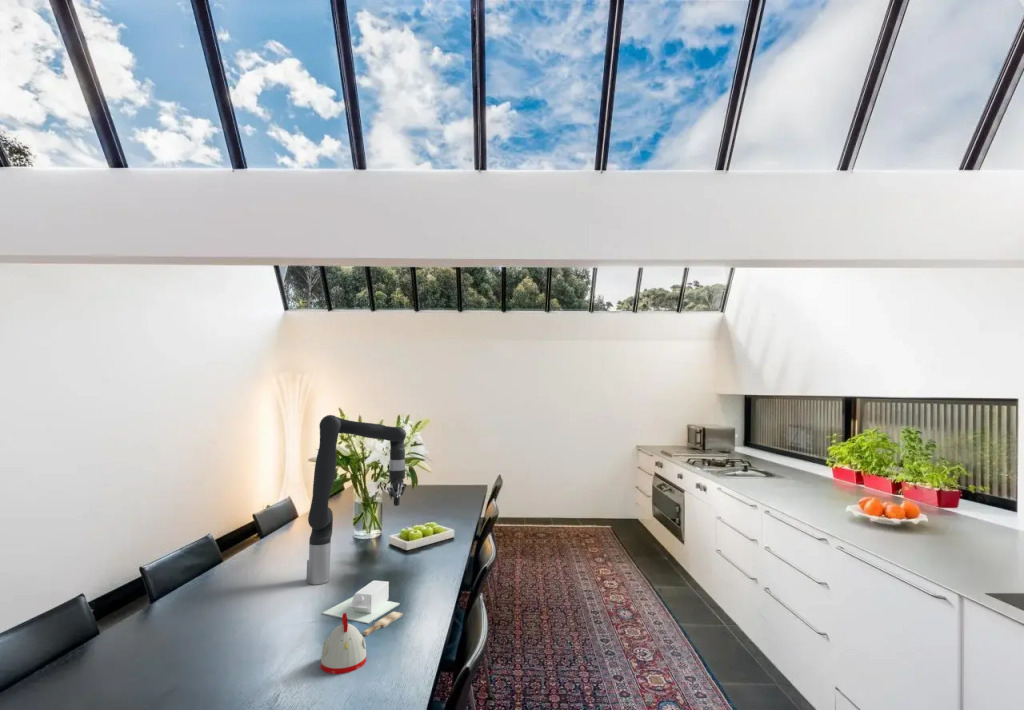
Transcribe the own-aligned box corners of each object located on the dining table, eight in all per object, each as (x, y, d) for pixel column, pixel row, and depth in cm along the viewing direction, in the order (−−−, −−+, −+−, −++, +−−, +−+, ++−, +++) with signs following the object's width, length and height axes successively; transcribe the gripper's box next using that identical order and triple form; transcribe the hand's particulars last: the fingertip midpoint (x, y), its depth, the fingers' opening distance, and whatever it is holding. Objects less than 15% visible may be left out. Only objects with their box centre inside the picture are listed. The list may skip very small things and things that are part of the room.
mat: (322, 613, 207) (322, 612, 207) (356, 595, 225) (356, 594, 225) (368, 623, 198) (368, 622, 198) (399, 604, 216) (399, 603, 216)
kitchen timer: (322, 677, 161) (323, 626, 162) (319, 656, 173) (320, 609, 174) (369, 668, 166) (370, 618, 167) (363, 648, 179) (364, 603, 180)
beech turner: (369, 636, 188) (369, 633, 188) (359, 634, 189) (359, 630, 189) (402, 615, 206) (402, 612, 206) (393, 613, 208) (393, 610, 208)
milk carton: (388, 599, 220) (365, 617, 202) (373, 597, 222) (349, 616, 204) (389, 581, 221) (366, 598, 202) (373, 580, 223) (349, 596, 204)
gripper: (398, 466, 263) (398, 502, 262) (382, 470, 251) (381, 507, 249) (411, 467, 260) (411, 503, 259) (395, 471, 248) (394, 509, 247)
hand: (396, 505), depth 254 cm, fingers closed
